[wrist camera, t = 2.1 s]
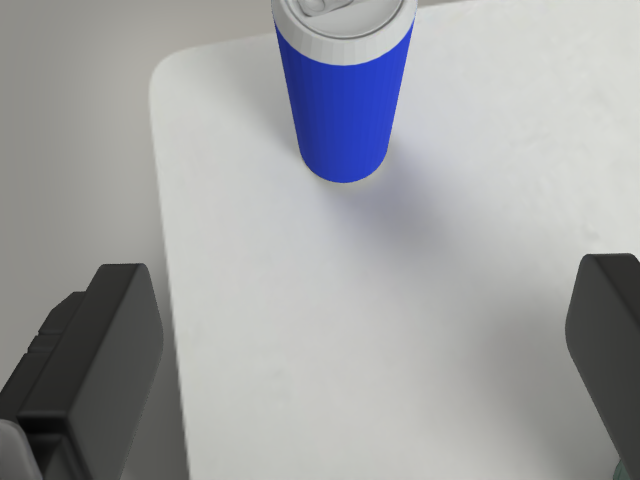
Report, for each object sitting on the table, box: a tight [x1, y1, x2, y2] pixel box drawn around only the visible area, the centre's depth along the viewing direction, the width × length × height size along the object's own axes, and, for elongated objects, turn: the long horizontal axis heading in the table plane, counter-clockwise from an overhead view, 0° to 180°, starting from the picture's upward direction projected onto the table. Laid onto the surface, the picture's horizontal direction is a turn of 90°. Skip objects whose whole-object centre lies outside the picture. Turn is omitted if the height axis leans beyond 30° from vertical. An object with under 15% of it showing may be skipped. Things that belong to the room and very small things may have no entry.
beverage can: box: [271, 0, 417, 183], centre depth 27 cm, size 5×5×15 cm
